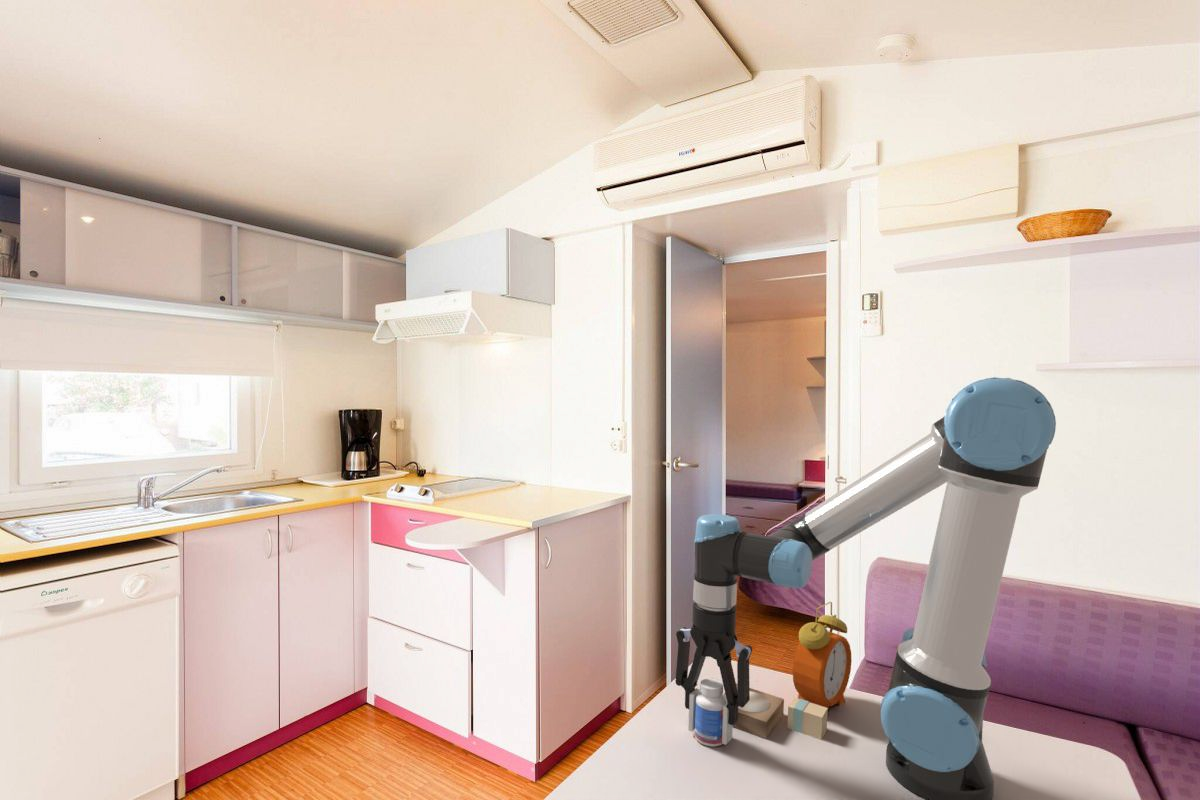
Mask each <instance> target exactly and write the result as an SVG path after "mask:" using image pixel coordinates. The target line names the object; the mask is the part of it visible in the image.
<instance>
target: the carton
mask: <svg viewBox="0 0 1200 800" xmlns="http://www.w3.org/2000/svg"><path fill="white" fill-rule="evenodd" d="M828 711H829V708H826V707H823V706H820V705H816V704H813V703H810V702H809V701H806V700H803V699H798V697H793V699H792V701H791V702H790V703H789V704H788V707H787V729H790V730H792V731H794V732H797V733H800V734H803V735H805V736H810V737H813V738H815V739H818V740H822V739H823V737H824V735H825V734H826V732H827V730H828Z"/></svg>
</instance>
